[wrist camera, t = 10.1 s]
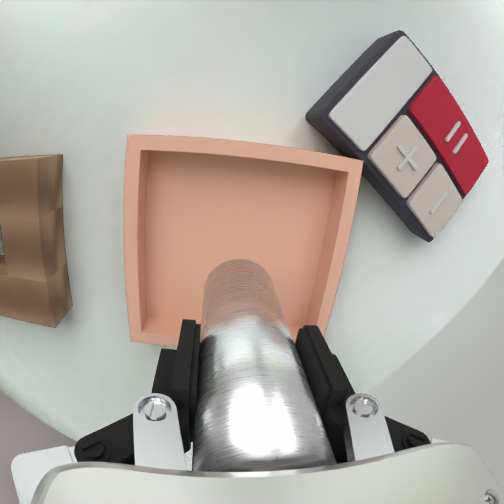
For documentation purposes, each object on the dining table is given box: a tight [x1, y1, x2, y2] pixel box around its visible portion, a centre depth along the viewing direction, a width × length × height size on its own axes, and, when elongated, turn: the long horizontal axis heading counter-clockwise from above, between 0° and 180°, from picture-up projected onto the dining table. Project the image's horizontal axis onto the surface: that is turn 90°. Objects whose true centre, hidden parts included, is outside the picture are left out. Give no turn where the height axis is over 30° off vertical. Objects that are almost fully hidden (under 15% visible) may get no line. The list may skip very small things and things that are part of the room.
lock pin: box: [192, 259, 337, 472], centre depth 12 cm, size 4×4×12 cm
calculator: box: [306, 30, 488, 242], centre depth 21 cm, size 11×4×15 cm
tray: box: [124, 135, 363, 346], centre depth 23 cm, size 16×16×4 cm
